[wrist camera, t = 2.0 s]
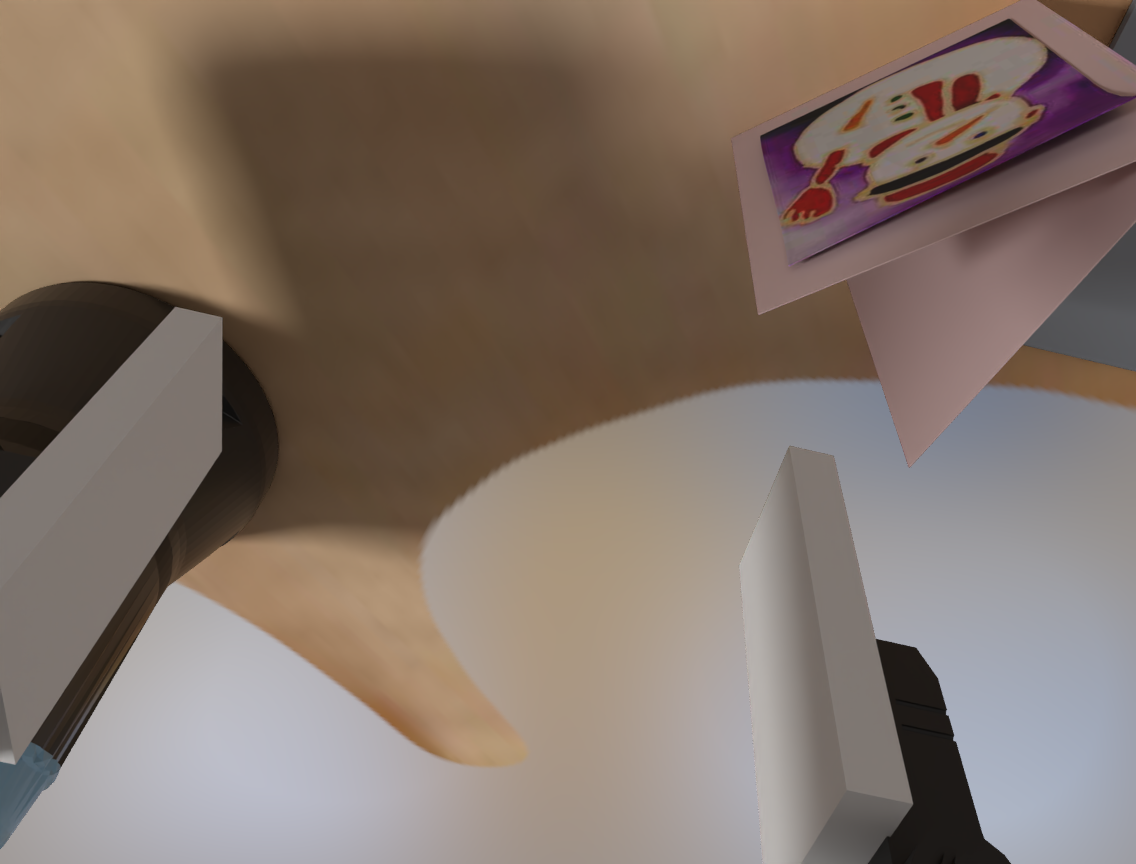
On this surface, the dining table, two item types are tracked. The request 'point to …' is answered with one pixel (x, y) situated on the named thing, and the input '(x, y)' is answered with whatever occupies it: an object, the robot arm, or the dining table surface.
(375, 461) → the dining table surface
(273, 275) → the dining table surface
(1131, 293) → the mat
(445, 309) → the dining table surface
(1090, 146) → the greeting card
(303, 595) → the dining table surface
